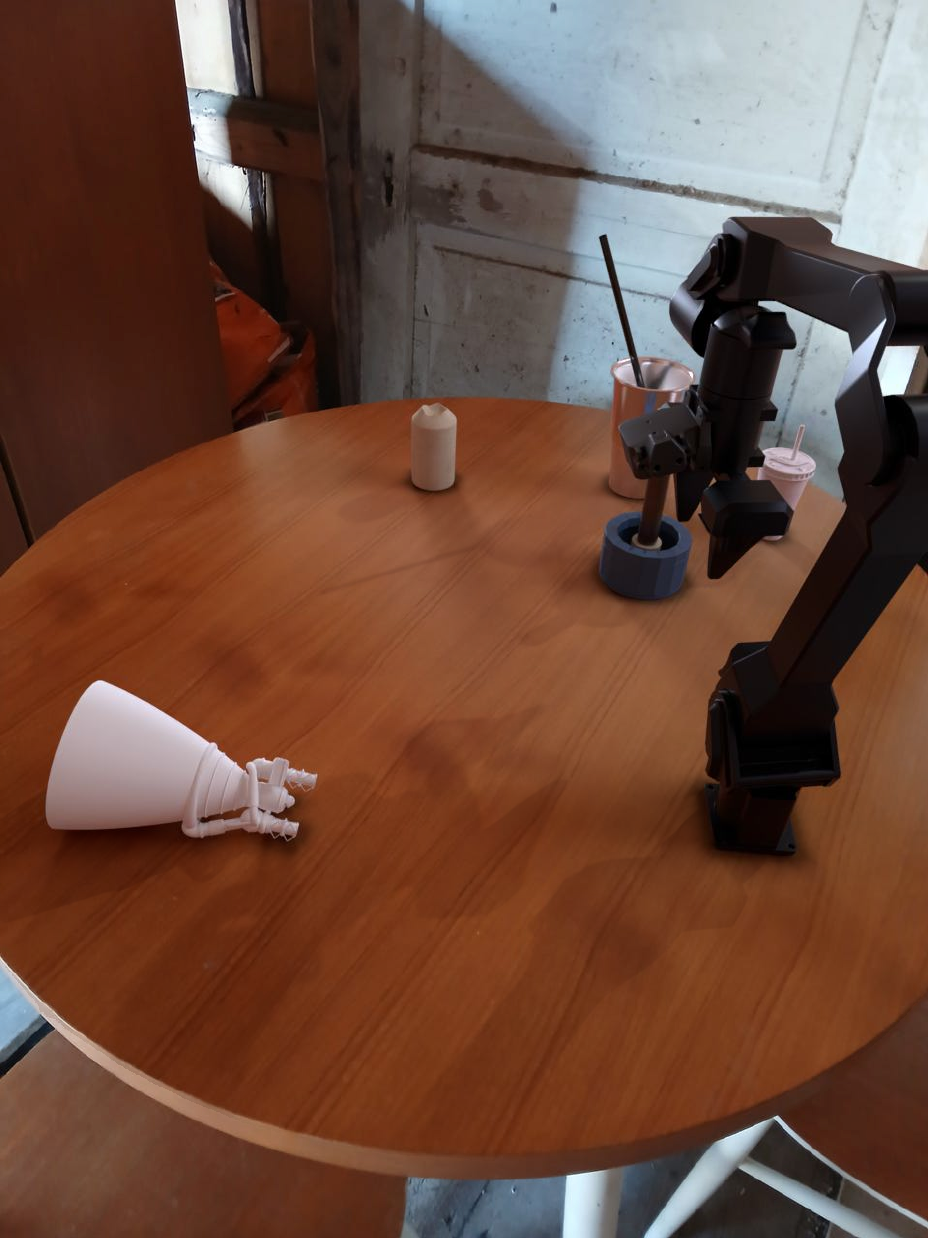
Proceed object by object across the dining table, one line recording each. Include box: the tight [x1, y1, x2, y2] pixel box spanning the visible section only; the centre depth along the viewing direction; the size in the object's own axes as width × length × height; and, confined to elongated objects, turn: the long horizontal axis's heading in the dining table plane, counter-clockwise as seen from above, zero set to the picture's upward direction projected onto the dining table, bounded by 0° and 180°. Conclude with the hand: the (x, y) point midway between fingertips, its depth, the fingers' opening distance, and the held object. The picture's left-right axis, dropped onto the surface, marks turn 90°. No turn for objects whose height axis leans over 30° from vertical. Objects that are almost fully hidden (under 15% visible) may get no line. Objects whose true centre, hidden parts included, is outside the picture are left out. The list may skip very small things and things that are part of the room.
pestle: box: [631, 475, 671, 551], centre depth 96 cm, size 3×3×12 cm
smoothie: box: [756, 424, 817, 541], centre depth 104 cm, size 6×6×14 cm
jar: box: [598, 510, 693, 601], centre depth 99 cm, size 9×9×6 cm
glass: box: [598, 233, 697, 500], centre depth 107 cm, size 11×11×30 cm
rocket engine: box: [45, 679, 318, 842], centre depth 70 cm, size 12×12×18 cm
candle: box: [411, 402, 458, 492], centre depth 112 cm, size 6×6×10 cm
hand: (697, 548), depth 81 cm, fingers open, 9 cm apart
